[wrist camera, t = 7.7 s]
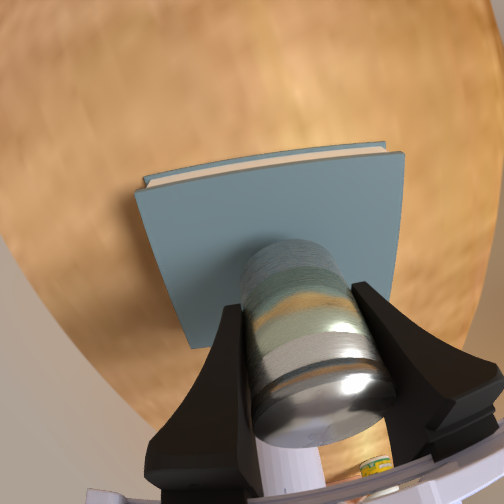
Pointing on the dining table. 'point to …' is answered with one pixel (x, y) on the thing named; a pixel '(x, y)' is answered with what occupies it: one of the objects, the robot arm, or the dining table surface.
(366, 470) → the supplement bottle
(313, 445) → the tea tin
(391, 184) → the hardcover book
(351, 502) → the open box
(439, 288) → the dining table surface
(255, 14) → the dining table surface
